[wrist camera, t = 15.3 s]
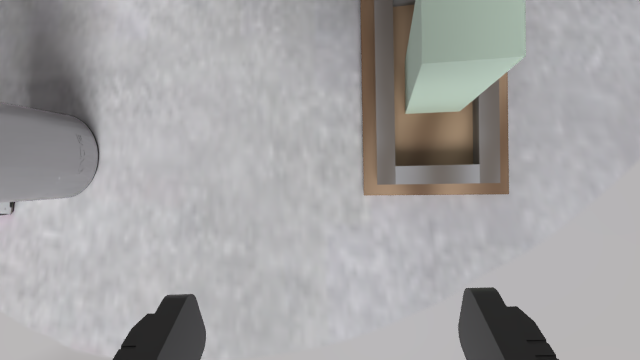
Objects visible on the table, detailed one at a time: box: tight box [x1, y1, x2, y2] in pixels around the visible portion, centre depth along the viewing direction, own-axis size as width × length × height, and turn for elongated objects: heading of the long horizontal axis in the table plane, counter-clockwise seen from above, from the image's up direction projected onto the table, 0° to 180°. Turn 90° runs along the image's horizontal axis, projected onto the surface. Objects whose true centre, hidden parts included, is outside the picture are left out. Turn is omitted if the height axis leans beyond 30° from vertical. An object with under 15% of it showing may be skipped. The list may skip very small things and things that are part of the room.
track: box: [361, 0, 509, 195], centre depth 29 cm, size 12×19×3 cm, turn 1°
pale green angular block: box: [405, 0, 526, 114], centre depth 23 cm, size 4×4×14 cm
